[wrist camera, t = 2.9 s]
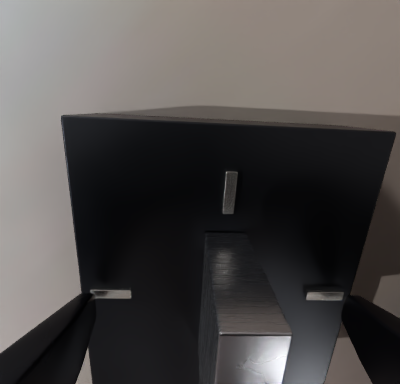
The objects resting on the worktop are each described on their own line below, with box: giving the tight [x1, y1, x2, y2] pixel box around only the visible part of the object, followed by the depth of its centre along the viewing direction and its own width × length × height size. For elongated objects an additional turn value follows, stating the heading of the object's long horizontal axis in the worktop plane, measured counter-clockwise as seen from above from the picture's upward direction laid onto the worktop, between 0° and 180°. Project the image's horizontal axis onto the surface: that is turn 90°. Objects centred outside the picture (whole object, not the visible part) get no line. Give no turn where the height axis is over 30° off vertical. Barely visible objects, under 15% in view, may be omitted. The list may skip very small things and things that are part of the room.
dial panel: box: [61, 113, 396, 384], centre depth 11 cm, size 10×12×3 cm
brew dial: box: [198, 232, 293, 384], centre depth 7 cm, size 5×1×4 cm, turn 177°
